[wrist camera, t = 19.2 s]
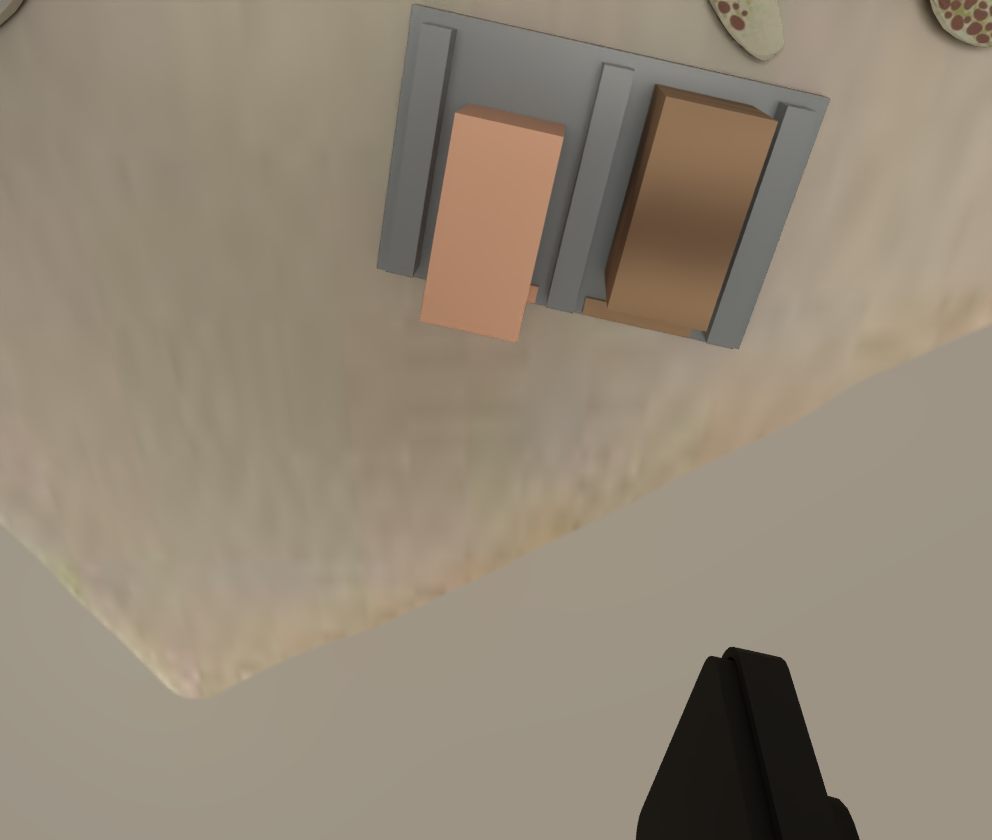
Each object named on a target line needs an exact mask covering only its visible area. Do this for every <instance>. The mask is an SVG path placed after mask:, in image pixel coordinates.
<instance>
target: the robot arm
mask: <svg viewBox="0 0 992 840" xmlns="http://www.w3.org/2000/svg"><path fill="white" fill-rule="evenodd" d="M22 1H23V0H0V25H1V24H2V23H3V22H5V21H6V20H7V19H8V18H9V17H10V16H11V15H12V14H13V13H15V12H16V10H17V9H18V7H19V6H20V4H21V3H22ZM636 833H637V834H636V840H860V839H859V836H858V833H857V830H856V827H855V824H854V822H853V820H852V817H851V815H850V813H849V811H848V809H847V807H846V806H845V805H844V804H843V803H842V802H841V801H840V800H839V799H837V798H834V797H830V796H827V792H826V789H825V786H824V782H823V779H822V776H821V773H820V769H819V766H818V763H817V760H816V756H815V753H814V750H813V746H812V743H811V740H810V737H809V733H808V730H807V727H806V724H805V720H804V717H803V714H802V711H801V707H800V704H799V701H798V698H797V694H796V691H795V688H794V684H793V681H792V678H791V675H790V671H789V668H788V666H787V664H786V662H785V661H784V660H783V659H782V658H781V657H777V656H772V655H768V654H763V653H759V652H754V651H750V650H745V649H741V648H735V647H729V648H728V649H727V650H726V651H725V653H724V654H723V656H722V658H719V657H714V656H710V657H708V658H707V659H706V661H705V663H704V665H703V667H702V670H701V672H700V674H699V676H698V679H697V681H696V683H695V686H694V688H693V691H692V693H691V695H690V697H689V700H688V702H687V704H686V707H685V709H684V712H683V714H682V716H681V719H680V721H679V724H678V726H677V728H676V730H675V733H674V735H673V737H672V740H671V742H670V744H669V747H668V749H667V751H666V754H665V756H664V758H663V761H662V763H661V765H660V768H659V770H658V772H657V775H656V777H655V780H654V782H653V784H652V786H651V789H650V791H649V794H648V796H647V798H646V801H645V803H644V805H643V808H642V810H641V813H640V816H639V821H638V825H637V832H636Z"/></svg>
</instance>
